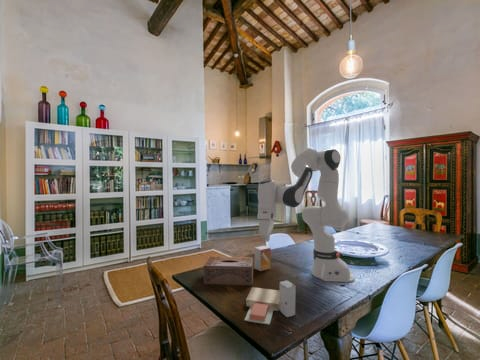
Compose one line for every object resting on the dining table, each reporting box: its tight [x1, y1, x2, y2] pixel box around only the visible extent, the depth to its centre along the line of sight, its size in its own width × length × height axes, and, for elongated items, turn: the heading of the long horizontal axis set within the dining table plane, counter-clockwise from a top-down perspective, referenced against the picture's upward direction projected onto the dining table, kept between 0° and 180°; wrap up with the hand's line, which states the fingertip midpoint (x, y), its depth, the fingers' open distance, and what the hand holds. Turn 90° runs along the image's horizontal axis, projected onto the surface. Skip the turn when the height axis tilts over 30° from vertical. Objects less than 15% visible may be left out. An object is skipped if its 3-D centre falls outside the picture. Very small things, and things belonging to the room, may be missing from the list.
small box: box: [254, 245, 272, 272], centre depth 145 cm, size 8×6×13 cm
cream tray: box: [245, 286, 280, 312], centre depth 107 cm, size 14×12×3 cm
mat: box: [244, 306, 274, 326], centre depth 96 cm, size 10×10×1 cm
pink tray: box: [250, 303, 269, 322], centre depth 96 cm, size 9×6×2 cm, turn 163°
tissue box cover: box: [203, 256, 254, 286], centre depth 131 cm, size 26×14×10 cm, turn 84°
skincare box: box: [278, 280, 297, 318], centre depth 98 cm, size 6×4×12 cm
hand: (267, 240), depth 116 cm, fingers closed
